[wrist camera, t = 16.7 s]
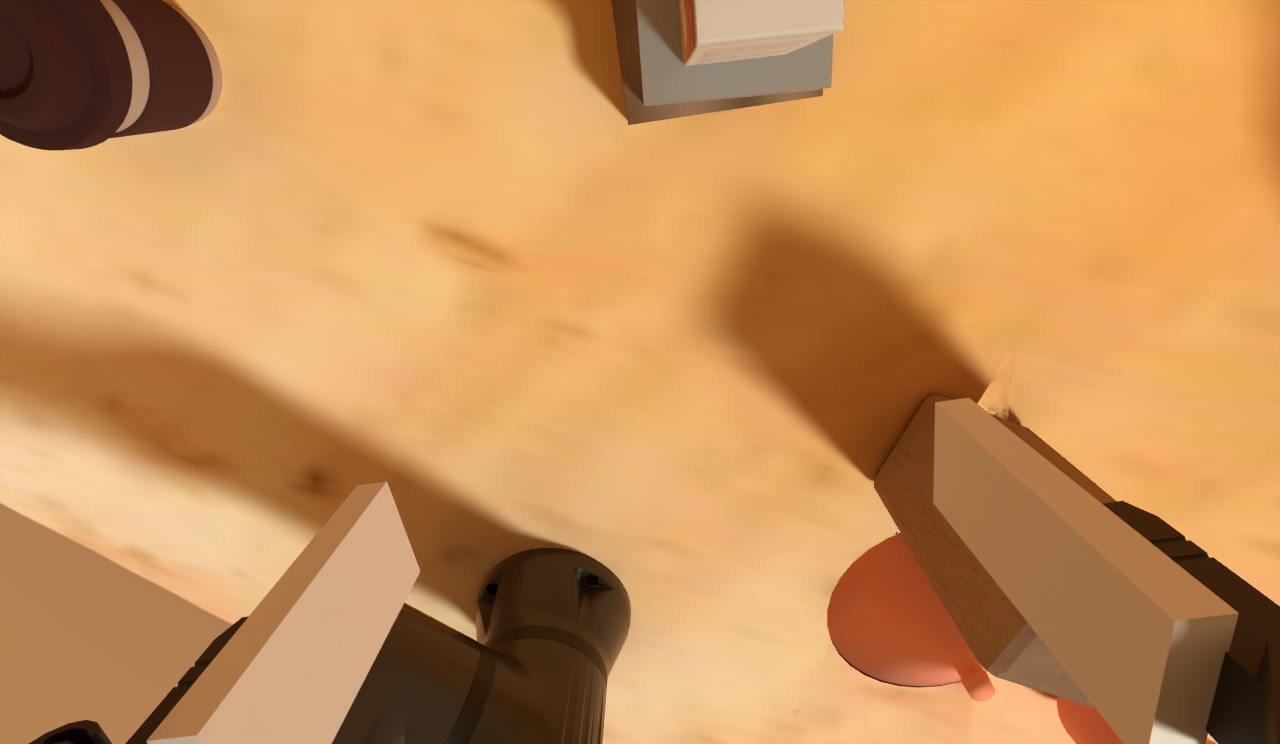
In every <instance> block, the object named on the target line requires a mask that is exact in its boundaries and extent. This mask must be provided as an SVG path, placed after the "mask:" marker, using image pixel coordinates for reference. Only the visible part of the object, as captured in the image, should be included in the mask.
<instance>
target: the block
mask: <svg viewBox="0 0 1280 744" xmlns="http://www.w3.org/2000/svg"><path fill="white" fill-rule="evenodd" d="M949 400H953V399H950V398H948V397H945V396H941V395H930V396H928V397H927V398H926V399H925V400H924V401H923V403H922V405H921V406H920V408H919V409H918V411H917V412H916V414H915V415H914V417H913V419H912V420H911V422H910V423H909V425H908V426H907V428H906V430H905V431H904V433H903V434H902V436H901V437H900V439H899V441H898V442H897V444H896V445H895V447H894V448H893V450H892V452H891V453H890V455H889V456H888V458H887V459H886V461H885V463H884V464H883V466H882V467H881V469H880V470H879V472H878V474H877V475H876V477H875V481H874V488H875V490H876V492H877V493H878V495H879V497H880V498H881V500H882V502H883V503H884V505H885V507H886V508H887V510H888V512H889V513H890V515H891V517H892V518H893V520H894V522H895V524H896V525H897V527H898V529H899V530H900V532H901V534H902V535H903V537H904V539H905V540H906V542H907V544H908V545H909V547H910V549H911V550H912V552H913V554H914V555H915V557H916V559H917V561H918V562H919V564H920V566H921V567H922V569H923V571H924V572H925V574H926V576H927V577H928V579H929V581H930V582H931V584H932V586H933V587H934V589H935V591H936V592H937V594H938V596H939V598H940V599H941V601H942V603H943V604H944V606H945V608H946V609H947V611H948V613H949V614H950V616H951V618H952V619H953V621H954V623H955V624H956V626H957V628H958V630H959V631H960V633H961V635H962V636H963V638H964V640H965V641H966V643H967V645H968V646H969V648H970V650H971V651H972V653H973V655H974V656H975V658H976V660H977V661H978V663H979V664H980V665H981V666H982V667H983V668H985V669H986V670H987V671H988V672H990V673H991V674H992V675H994V676H995V677H998V678H1001V679H1005V680H1008V681H1011V682H1014V683H1017V684H1020V685H1023V686H1026V687H1029V688H1033V689H1036V690H1039V691H1042V692H1045V693H1048V694H1051V695H1054V696H1057V697H1061V698H1064V699H1067V700H1070V701H1073V702H1076V703H1079V704H1082V705H1085V706H1089V707H1092V708H1095V707H1094V706H1093V704H1092V703H1091V702H1090V701H1089V699H1088V698H1087V697H1086V696H1085V694H1084V693H1083V692H1082V690H1081V689H1080V688H1079V687H1078V685H1077V684H1076V683H1075V682H1074V680H1073V679H1072V678H1071V677H1070V675H1069V674H1068V673H1067V672H1066V670H1065V669H1064V668H1063V666H1062V665H1061V664H1060V663H1059V661H1058V660H1057V659H1056V658H1055V656H1054V655H1053V654H1052V653H1051V651H1050V650H1049V649H1048V648H1047V646H1046V645H1045V644H1044V642H1043V641H1042V640H1041V639H1040V637H1039V636H1038V635H1037V634H1036V632H1035V631H1034V630H1033V629H1032V627H1031V626H1030V625H1029V624H1028V622H1027V621H1026V620H1025V618H1024V617H1023V616H1022V615H1021V613H1020V612H1019V611H1018V610H1017V608H1016V607H1015V606H1014V605H1013V603H1012V602H1011V601H1010V600H1009V598H1008V597H1007V596H1006V594H1005V593H1004V592H1003V591H1002V589H1001V588H1000V587H999V586H998V584H997V583H996V582H995V581H994V579H993V578H992V577H991V576H990V574H989V573H988V572H987V570H986V569H985V568H984V567H983V565H982V564H981V563H980V562H979V560H978V559H977V558H976V557H975V555H974V554H973V553H972V551H971V550H970V549H969V548H968V546H967V545H966V544H965V543H964V541H963V540H962V539H961V538H960V536H959V535H958V534H957V533H956V531H955V530H954V529H953V527H952V526H951V525H950V524H949V522H948V521H947V520H946V519H945V517H944V516H943V515H942V514H941V512H940V511H939V510H938V509H937V507H936V506H935V505H934V503H933V491H934V432H935V402H942V401H949ZM989 414H990V413H989ZM990 415H992V414H990ZM992 416H993V417H994V418H995V419H997V420H998V421H999V422H1000V423H1002V424H1003V425H1004V426H1005V427H1007V428H1008V429H1009V430H1010V431H1012V432H1013V433H1014V434H1015V435H1017V436H1018V437H1019V438H1020V439H1022V440H1023V441H1024V442H1025V443H1027V444H1028V445H1029V446H1030V447H1032V448H1033V449H1034V450H1035V451H1037V452H1038V453H1039V454H1040V455H1042V456H1043V457H1044V458H1045V459H1047V460H1048V461H1049V462H1050V463H1052V464H1053V465H1054V466H1055V467H1057V468H1058V469H1059V470H1060V471H1062V472H1063V473H1064V474H1065V475H1067V476H1068V477H1069V478H1070V479H1072V480H1073V481H1074V482H1075V483H1077V484H1078V485H1079V486H1080V487H1082V488H1083V489H1084V490H1085V491H1087V492H1088V493H1089V494H1090V495H1092V496H1093V497H1094V498H1095V499H1097V500H1098V501H1099V502H1100V503H1102V504H1103V503H1111V502H1117V501H1116V500H1114V499H1113V498H1112V497H1111V496H1110V495H1108V494H1107V493H1106V492H1105V491H1103V490H1102V489H1101V488H1100V487H1099V486H1097V485H1096V484H1095V483H1094V482H1093V481H1091V480H1090V479H1089V478H1088V477H1087V476H1085V475H1084V474H1083V473H1082V472H1080V471H1079V470H1078V469H1077V468H1076V467H1074V466H1073V465H1072V464H1071V463H1070V462H1068V461H1067V460H1066V459H1065V458H1064V457H1062V456H1061V455H1060V454H1059V453H1058V452H1056V451H1055V450H1054V449H1053V448H1051V447H1050V446H1049V445H1048V444H1047V443H1045V442H1044V441H1043V440H1042V439H1041V438H1039V437H1038V436H1037V435H1036V434H1035V433H1033V432H1032V431H1031V430H1030V429H1029V428H1026V427H1024V426H1021V425H1018V424H1016V423H1013V422H1011V421H1008V420H1005V419H1003V418H1000V417H998V416H995V415H992ZM1095 709H1096V708H1095Z"/></svg>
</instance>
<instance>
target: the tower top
mask: <svg viewBox="0 0 1280 744" xmlns="http://www.w3.org/2000/svg"><path fill="white" fill-rule="evenodd" d="M636 6H637V19H638V33H639V46H640V60H641V73H642V87H643V100H644V105H645V106H655V105H666V104H677V103H687V102H698V101H709V100H720V99H731V98H741V97H752V96H763V95H774V94H784V93H795V92H806V91H813V90H819V89H825V88H830V87H831V77H832V50H833V34H832V35H830V36H827V37H825V38H823V39H820V40H818V41H816V42H813V43H811V44H809V45H807V46H804V47H802V48H799V49H797V50H795V51H792V52H790V53H787V54H785V55H777V56H770V57H762V58H754V59H746V60H737V61H729V62H720V63H711V64H701V65H691V66H685V65H684V63H683V55H682V39H681V24H680V8H679V0H636Z"/></svg>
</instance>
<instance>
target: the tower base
mask: <svg viewBox="0 0 1280 744" xmlns="http://www.w3.org/2000/svg"><path fill="white" fill-rule="evenodd" d="M612 7H613V14H614V22H615V29H616V37H617V44H618V51H619V59H620V66H621V74H622V81H623V88H624V96H625V103H626V110H627V118H628V125H631V124H638V123H644V122H651V121H658V120H664V119H671V118H678V117H684V116H691V115H698V114H704V113H711V112H717V111H724V110H731V109H737V108H744V107H751V106H757V105H764V104H771V103H777V102H784V101H791V100H797V99H804V98H810V97H817V96H823V89H819V90H813V91H806V92H795V93H784V94H774V95H763V96H752V97H741V98H731V99H720V100H709V101H698V102H687V103H677V104H666V105H655V106H645V105H644V100H643V87H642V73H641V60H640V46H639V33H638V19H637V6H636V0H612Z"/></svg>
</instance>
